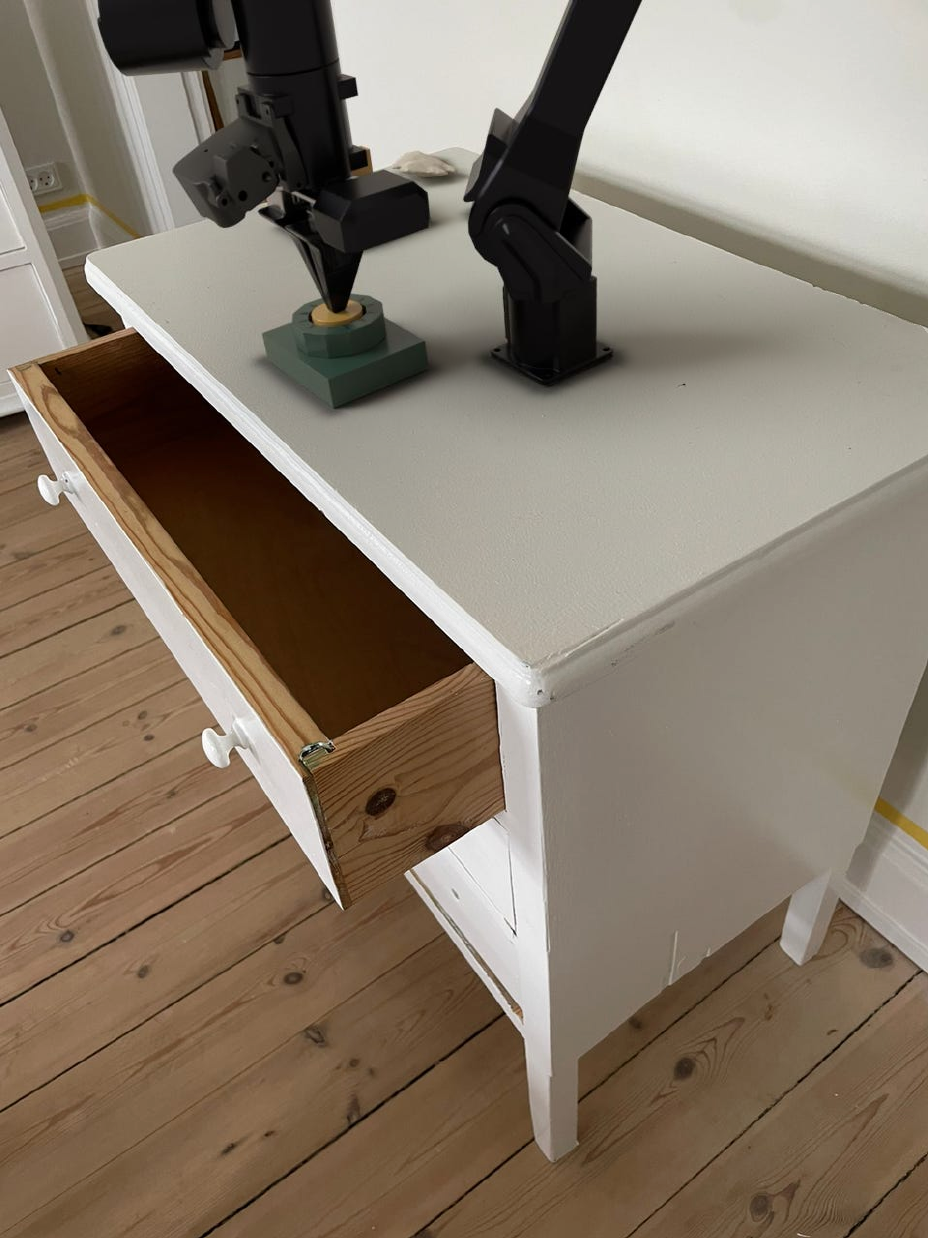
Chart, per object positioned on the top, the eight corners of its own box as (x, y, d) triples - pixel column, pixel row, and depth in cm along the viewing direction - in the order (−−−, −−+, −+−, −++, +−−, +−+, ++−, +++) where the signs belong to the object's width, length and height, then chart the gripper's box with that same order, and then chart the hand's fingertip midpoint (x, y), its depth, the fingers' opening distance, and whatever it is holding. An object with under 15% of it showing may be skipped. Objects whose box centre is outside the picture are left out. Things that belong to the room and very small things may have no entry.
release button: (375, 333, 70) (371, 309, 68) (331, 349, 68) (327, 326, 67) (349, 317, 72) (345, 294, 71) (307, 333, 71) (302, 310, 69)
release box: (428, 368, 70) (422, 316, 67) (333, 408, 67) (323, 355, 64) (357, 325, 76) (349, 276, 74) (267, 360, 73) (255, 309, 71)
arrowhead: (457, 190, 100) (448, 162, 108) (460, 171, 99) (451, 144, 106) (391, 182, 99) (387, 154, 106) (393, 162, 98) (388, 136, 105)
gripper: (111, 71, 61) (180, 307, 72) (240, 123, 49) (301, 397, 60) (267, 34, 66) (311, 261, 76) (420, 74, 54) (448, 337, 64)
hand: (337, 310), depth 69 cm, fingers closed, pressing on release button
